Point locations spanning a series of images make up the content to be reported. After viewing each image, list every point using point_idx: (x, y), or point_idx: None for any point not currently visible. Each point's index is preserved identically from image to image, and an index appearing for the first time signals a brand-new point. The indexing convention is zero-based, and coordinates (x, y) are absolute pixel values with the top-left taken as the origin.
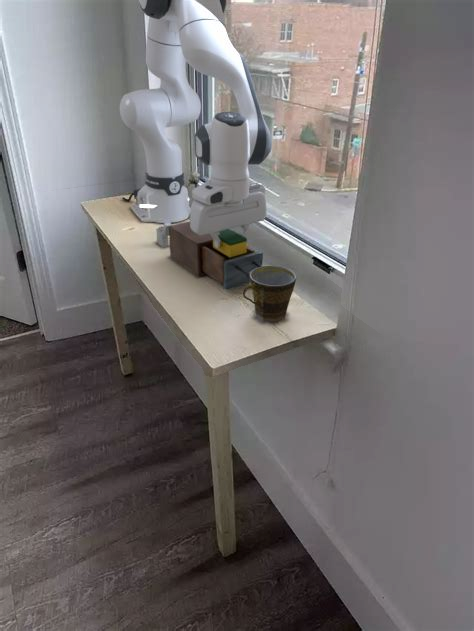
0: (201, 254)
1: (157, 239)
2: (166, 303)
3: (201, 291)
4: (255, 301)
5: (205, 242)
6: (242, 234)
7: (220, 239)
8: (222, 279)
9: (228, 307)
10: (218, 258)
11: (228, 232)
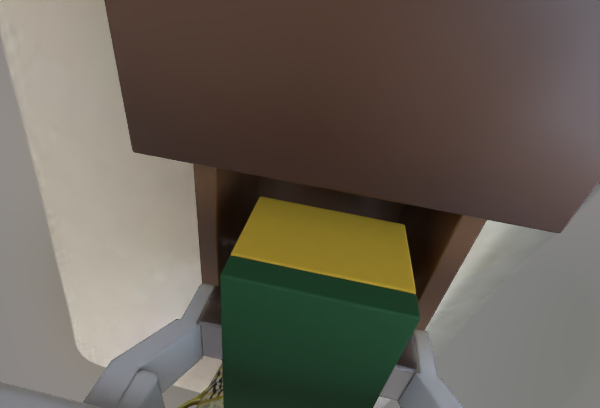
0: None
1: None
2: (43, 163)
3: (181, 184)
4: (199, 401)
5: (211, 164)
6: (403, 404)
7: (220, 344)
8: None
9: None
10: None
11: (342, 348)
